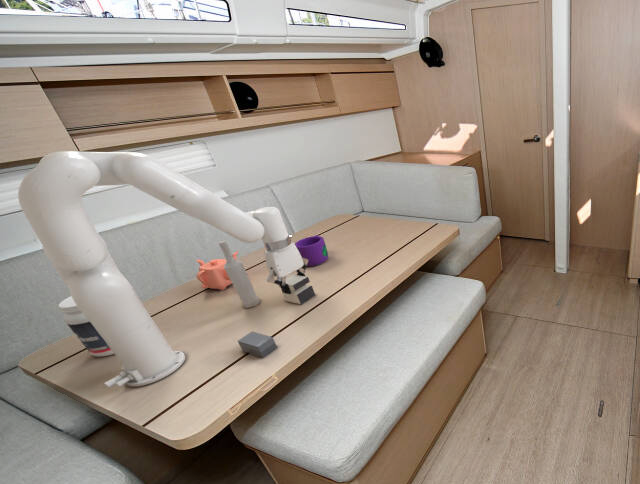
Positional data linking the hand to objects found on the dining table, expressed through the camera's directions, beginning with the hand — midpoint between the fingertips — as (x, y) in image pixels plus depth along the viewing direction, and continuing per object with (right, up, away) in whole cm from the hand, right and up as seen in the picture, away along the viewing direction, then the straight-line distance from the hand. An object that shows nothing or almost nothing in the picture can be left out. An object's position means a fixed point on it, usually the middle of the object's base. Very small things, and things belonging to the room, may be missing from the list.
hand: (295, 287), depth 126 cm
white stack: (0, -4, +2) cm, 5 cm away
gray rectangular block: (+3, -16, -22) cm, 27 cm away
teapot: (-38, 0, +17) cm, 41 cm away
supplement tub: (-46, -16, -15) cm, 51 cm away
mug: (-9, +9, +31) cm, 33 cm away
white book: (0, +1, -1) cm, 1 cm away
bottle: (-16, -6, +1) cm, 17 cm away
